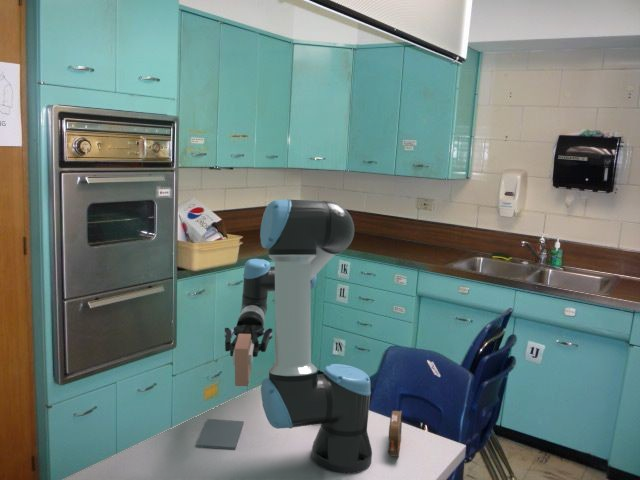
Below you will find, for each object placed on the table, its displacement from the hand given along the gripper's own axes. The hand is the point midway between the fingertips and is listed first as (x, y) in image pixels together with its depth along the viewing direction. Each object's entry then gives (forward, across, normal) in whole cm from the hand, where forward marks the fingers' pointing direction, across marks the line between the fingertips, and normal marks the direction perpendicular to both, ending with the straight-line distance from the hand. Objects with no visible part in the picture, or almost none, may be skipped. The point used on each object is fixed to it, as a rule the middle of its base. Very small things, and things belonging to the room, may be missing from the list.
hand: (242, 360), depth 142 cm
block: (-2, 0, -6) cm, 7 cm away
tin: (-1, -40, -26) cm, 47 cm away
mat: (-4, +6, -24) cm, 25 cm away
